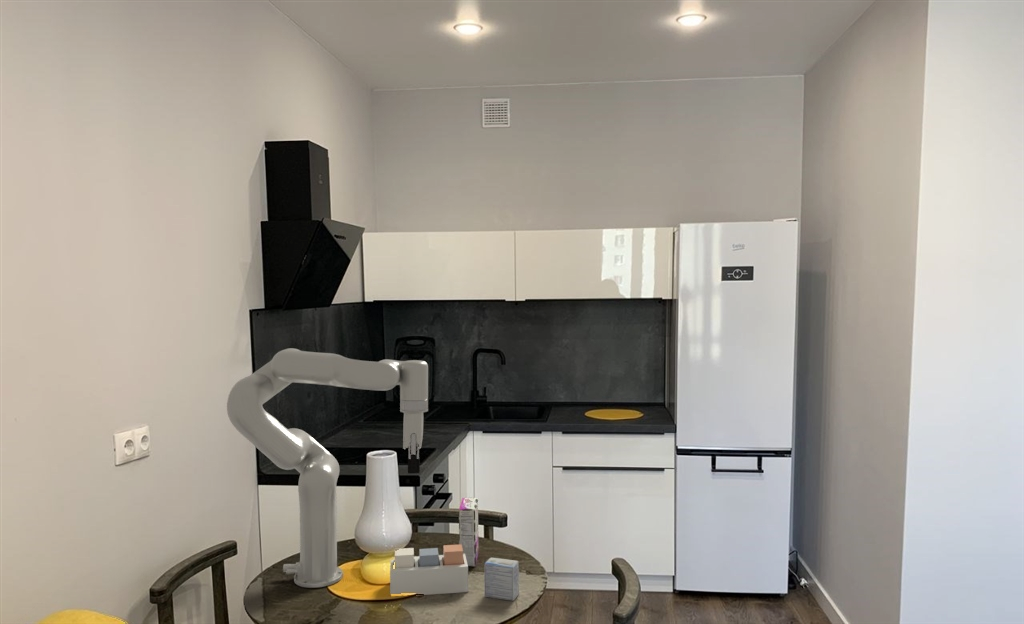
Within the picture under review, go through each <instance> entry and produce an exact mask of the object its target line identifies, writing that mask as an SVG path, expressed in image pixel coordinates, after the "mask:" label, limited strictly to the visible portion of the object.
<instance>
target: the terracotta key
mask: <svg viewBox="0 0 1024 624" xmlns="http://www.w3.org/2000/svg"><path fill="white" fill-rule="evenodd" d="M442 549H443V550H442V551H443V554H442V555H443V566H444V565H460V564H463V548H462V544H459V543H458V544H447V545H445V544H444V545H443V548H442Z"/></svg>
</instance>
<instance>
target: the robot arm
mask: <svg viewBox="0 0 1024 624" xmlns="http://www.w3.org/2000/svg"><path fill="white" fill-rule="evenodd" d="M292 383H298V384H311V385H322V386H332V387H338V388H347V389H348V388H349V389H357V390H367V391H368V390H369V391H382V392H383V391H384V392H385V391H389V390H392V389H394V388H395V387H396V386H399V388H400V390H399V392H400V393H399V395H400V397H399V398H400V400H399V401H400V403H399V406H400V407H399V409H400V410H399V411H400V413H403V429H402V432H403V435H402V437H403V438H402V441H403V442H402V449H404V450H406V449H408V457H407V474H409V475H411V474H420V471H421V469H420V466H421V463H420V462H421V461H420V460H421V457H420V449H421V448H422V444H423V439H424V438H423V436H424V413H427V412H429V364H428V363H427V362H426V361H425V360H420V359H419V360H417V359H413V360H412V359H411V360H396V359H387V358H385V359H382V360H379V361H373V360H372V361H371V360H370V361H369V360H360V359H354V358H348V357H345V356H343V355H341V354H338V353H337V354H336V353H331V352H316V351H315V352H314V351H305V350H300V349H298V348H294V347H293V348H291V347H290V348H289V347H288V348H285V349H282V350H279V351H278V352H277V353H275V354H274V356H273V357H272V358H271V360H270V361H268V362H267V363H266V364H264V365H262V367H260V368H259V369H257V370H255V371H254V372H253V373H251V374H250V375H248V376H245V377H243V378H241V379H240V380H238V381H237V382H236V383H235V384H234V385H233V387H232V388H231V390H230V392H229V394H228V397H227V402H226V412H227V416H228V418H229V421H230V423H231V425H232V426H233V428H235V429H236V430H237V431H238V432H239V433H240V434H241V435H242V436H243V437H244V438H245V439H246V440H248V441H249V442H250V443H251V444H252V445H253V446H254V447H255V448H256V449H258V451H260V452H261V454H263V455H264V456H266V457H267V459H269V460H270V461H271V462H272V463H273V464H274V465H275V466H276V467H278V468H279V469H282V470H286V471H289V470H290V471H291V470H296V471H297V472H298V473H299V474H300V475H299V478H298V489H297V490H298V503H299V561H298V562H297V561H296V562H295V563H284V564H283V567H282V572H283V573H285V574H286V575H293V574H294V576H293V582H294V584H296V585H297V586H299V587H301V588H308V589H313V588H315V589H316V588H323V587H327V586H331V585H334V584H335V583H339V581H340V580H342V578H343V576H344V571H343V569H342V568H341V567H340V566H338V517H337V514H338V511H337V509H338V508H337V507H338V505H337V483H338V478H339V476H340V468H341V467H340V465H339V462H338V460H337V458H335V456H334V455H333V454H332V453H330V451H328V450H327V449H326V448H325V447H324V446H323V445H322V444H321V443H319V442H318V441H317V440H316V439H315V438H314V437H312V435H311V434H309V433H307V432H306V431H304V430H303V429H299V428H295V427H292V428H287V427H286V426H284V424H282V423H281V422H280V421H279V420H278V419H277V418H276V417H275V416H273V415H271V414H270V413H269V412H267V411H266V410H265V409H264V406H263V405H264V404H265V403H267V402H268V401H269V400H271V399H272V398H273V397H274V396H276V395H277V394H279V393H280V392H281V391H283V390H284V389H285V388H287V387H288V386H289V385H291V384H292Z"/></svg>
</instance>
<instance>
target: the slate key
mask: <svg viewBox="0 0 1024 624" xmlns="http://www.w3.org/2000/svg"><path fill="white" fill-rule="evenodd" d="M418 550H419V553H418V554H419V555H418V556H419V567H428V566H439V555H440V554H439V548H438V547H431V548H419V549H418Z"/></svg>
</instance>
